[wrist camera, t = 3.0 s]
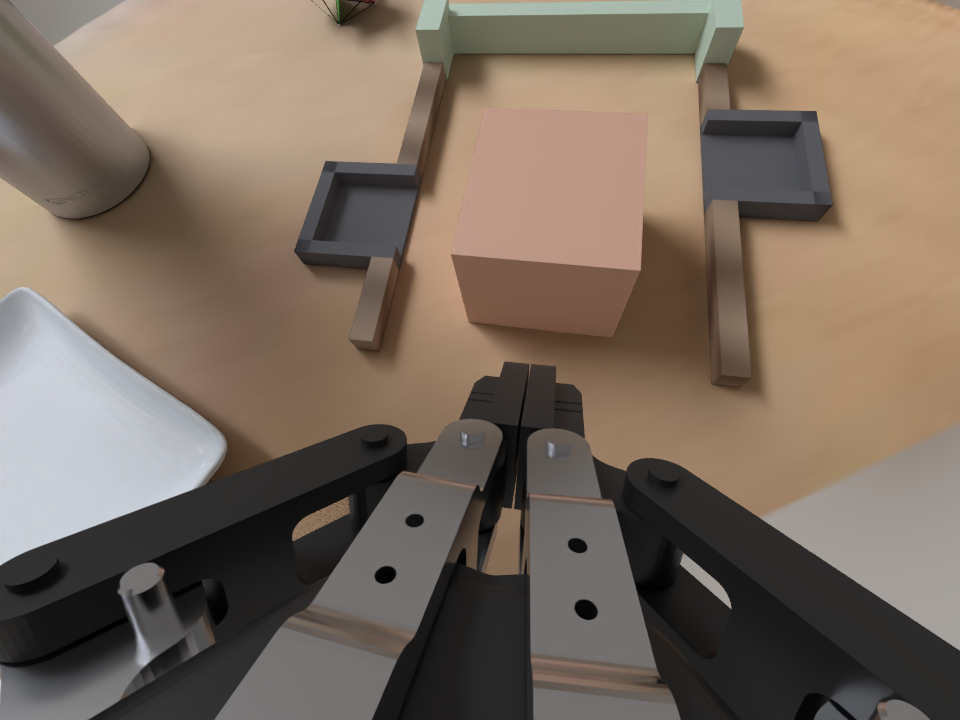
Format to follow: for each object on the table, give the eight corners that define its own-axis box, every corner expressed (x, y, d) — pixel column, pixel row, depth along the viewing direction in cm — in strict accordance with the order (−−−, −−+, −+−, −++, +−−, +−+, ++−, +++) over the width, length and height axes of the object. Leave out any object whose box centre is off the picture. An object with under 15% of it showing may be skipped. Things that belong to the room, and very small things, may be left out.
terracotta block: (612, 338, 28) (640, 270, 21) (468, 322, 29) (451, 254, 22) (621, 208, 31) (648, 113, 24) (493, 200, 33) (484, 107, 26)
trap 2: (399, 271, 31) (393, 258, 29) (304, 264, 32) (294, 251, 30) (421, 179, 34) (416, 164, 32) (333, 176, 35) (325, 161, 33)
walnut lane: (739, 386, 26) (751, 377, 24) (357, 348, 29) (348, 339, 28) (716, 53, 36) (724, 33, 34) (435, 53, 39) (431, 35, 38)
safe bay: (720, 82, 35) (743, 27, 31) (426, 79, 38) (415, 29, 34) (717, 41, 36) (739, -16, 33) (436, 42, 40) (427, -10, 36)
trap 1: (818, 220, 29) (832, 204, 28) (704, 215, 30) (712, 199, 29) (803, 129, 32) (816, 111, 31) (700, 127, 33) (707, 109, 32)
